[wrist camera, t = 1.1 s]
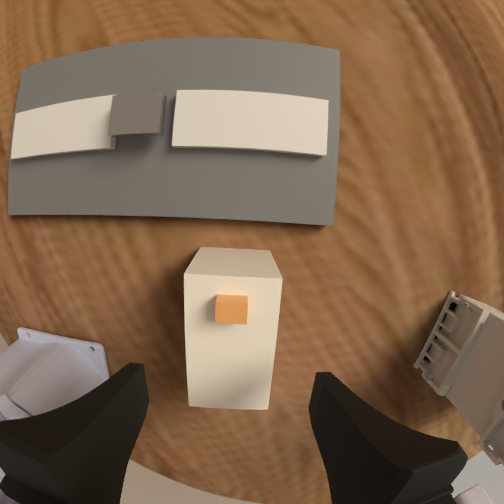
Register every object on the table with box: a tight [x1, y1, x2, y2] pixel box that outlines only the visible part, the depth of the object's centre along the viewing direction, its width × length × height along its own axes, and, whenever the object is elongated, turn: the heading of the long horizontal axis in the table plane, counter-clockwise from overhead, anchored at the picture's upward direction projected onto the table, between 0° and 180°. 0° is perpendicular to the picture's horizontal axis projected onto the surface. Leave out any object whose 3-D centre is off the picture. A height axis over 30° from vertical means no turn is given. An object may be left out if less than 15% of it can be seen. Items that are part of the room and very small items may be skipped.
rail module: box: [184, 247, 282, 410], centre depth 17 cm, size 4×8×7 cm, turn 176°
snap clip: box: [108, 92, 167, 138], centre depth 15 cm, size 3×2×1 cm
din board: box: [8, 37, 340, 226], centre depth 16 cm, size 24×12×2 cm, turn 86°
